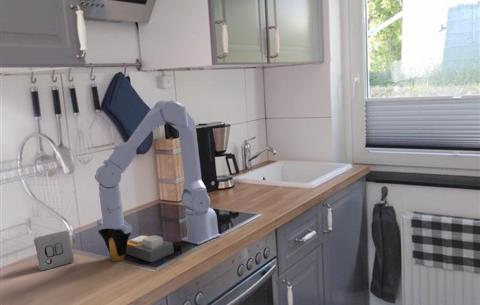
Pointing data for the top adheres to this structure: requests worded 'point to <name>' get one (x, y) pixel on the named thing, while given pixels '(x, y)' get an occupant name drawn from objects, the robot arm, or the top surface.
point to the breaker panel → (149, 251)
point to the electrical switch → (54, 250)
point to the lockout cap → (114, 251)
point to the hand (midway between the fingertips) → (117, 253)
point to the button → (153, 242)
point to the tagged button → (138, 240)
